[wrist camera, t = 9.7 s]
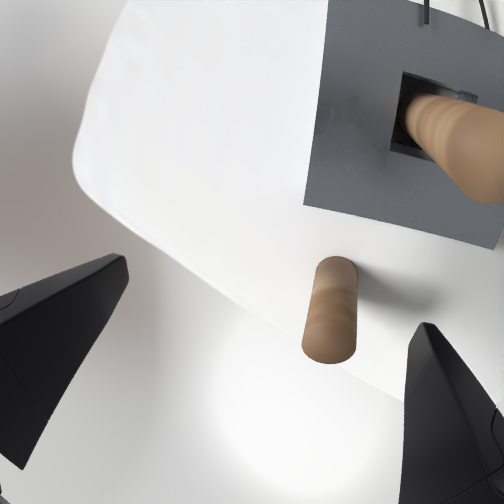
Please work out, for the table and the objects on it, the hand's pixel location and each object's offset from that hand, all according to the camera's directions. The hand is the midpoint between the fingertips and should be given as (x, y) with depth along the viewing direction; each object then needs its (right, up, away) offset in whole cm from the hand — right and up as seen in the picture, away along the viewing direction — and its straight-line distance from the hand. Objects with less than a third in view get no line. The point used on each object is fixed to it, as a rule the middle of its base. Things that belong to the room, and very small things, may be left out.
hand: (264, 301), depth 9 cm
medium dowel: (+6, 0, +14) cm, 15 cm away
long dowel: (+9, +9, +7) cm, 15 cm away
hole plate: (+9, +9, +7) cm, 15 cm away
